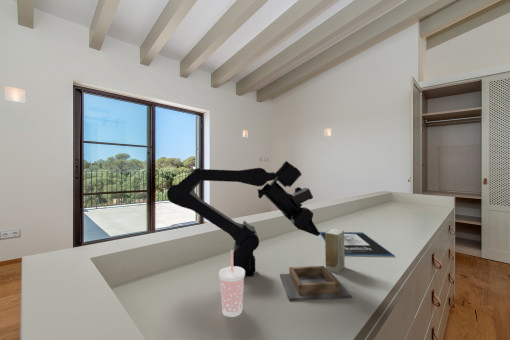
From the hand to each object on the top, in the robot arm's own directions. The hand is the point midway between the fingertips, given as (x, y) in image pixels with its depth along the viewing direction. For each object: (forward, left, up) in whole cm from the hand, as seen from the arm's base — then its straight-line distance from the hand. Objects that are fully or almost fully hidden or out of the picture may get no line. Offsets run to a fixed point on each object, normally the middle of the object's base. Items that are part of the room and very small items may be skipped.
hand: (313, 230), depth 73 cm
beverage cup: (-26, -19, -13) cm, 35 cm away
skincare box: (+7, 0, -13) cm, 15 cm away
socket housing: (-4, -10, -12) cm, 17 cm away
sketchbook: (+24, +24, -13) cm, 37 cm away
